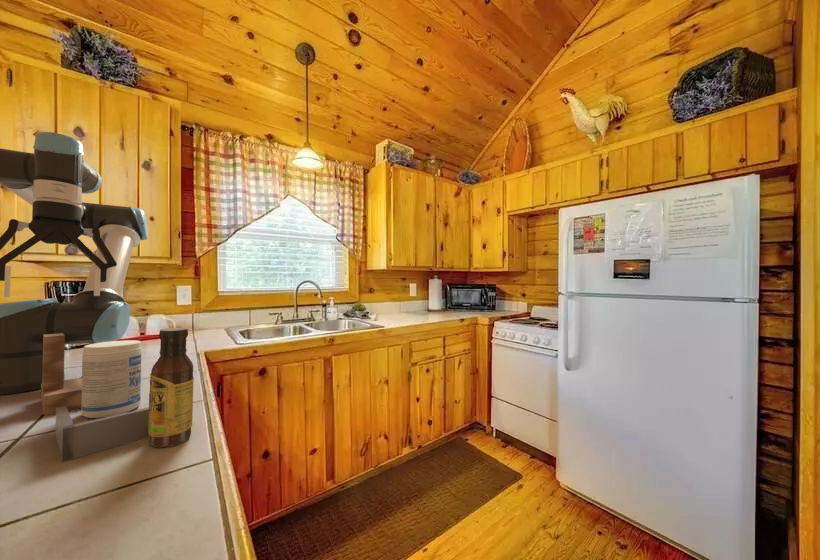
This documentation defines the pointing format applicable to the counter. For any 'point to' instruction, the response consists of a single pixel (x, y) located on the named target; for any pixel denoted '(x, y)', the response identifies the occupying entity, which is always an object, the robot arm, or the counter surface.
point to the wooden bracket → (57, 377)
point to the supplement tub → (111, 378)
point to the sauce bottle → (171, 391)
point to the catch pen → (98, 432)
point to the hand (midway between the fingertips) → (55, 296)
